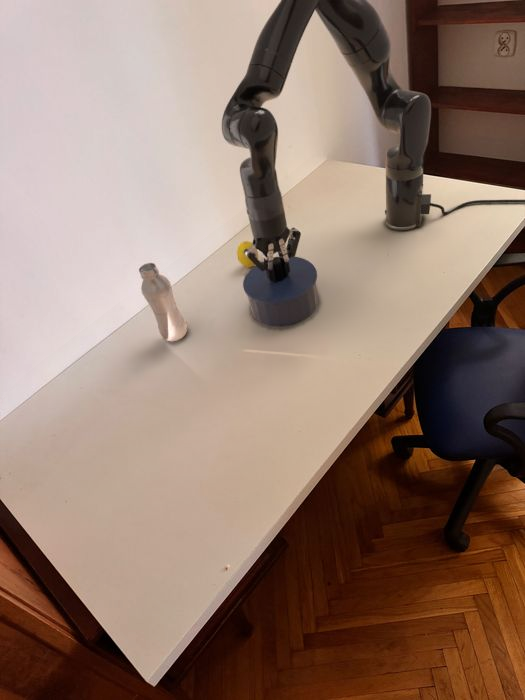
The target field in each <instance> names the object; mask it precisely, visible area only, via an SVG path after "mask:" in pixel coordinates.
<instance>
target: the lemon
mask: <svg viewBox="0 0 525 700" xmlns="http://www.w3.org/2000/svg"><path fill="white" fill-rule="evenodd" d="M252 245H253V242H251V241H247V240H246V241H245V240H243V241H242V242H240V243H239V244H238V246H237V247H236V248H237V249H236V257H237V260H238V262H239V264H240V265H241V266H243V267H246V268H253V267H254V266H256V265H255V264H254V263H253V262H252V261H251V260H250V259H249V258H248V257H247V256H246V255H245V254H244V250H245V249H248V250H249V248H250V247H251V246H252ZM256 253H257V257H256V258H257V259H258V260H259V252H258V249H257V250H256Z"/></svg>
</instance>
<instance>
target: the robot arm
mask: <svg viewBox="0 0 525 700" xmlns="http://www.w3.org/2000/svg"><path fill="white" fill-rule="evenodd" d="M314 12H316V14H317V15H318V18H319V19H320V21H321V22H322V24H323V26H324V27H325V28H326V30H327V32H328V33H329V35H330V36H331V38H332V39H333V42H334V43H335V45H336V47H337V49H338V50H339V52H340V53H341V56H342V57H343V59H344V61H345V62H346V64H347V65H348V66H349V68H350V69H351V71H352V72H353V75H354V76H355V78H356V80H357V81H358V83H359V85H360V86H361V88H362V89H363V91H364V93H365V94H366V97H367V99H368V101H369V103H370V105H371V108H372V110H373V112H374V115H375V117H376V119H377V121H378V123H379V126H381V127H382V128H383V129H384V130H385V131H387V132H390V133H392V134H396V135H399V142H398V143H396V144H393V145H391V146H390V147H389V148H388V149H387V150H386V152H385V210H384V215H385V225H386V226H387V227H388V228H389V229H391V230H394V231H410V230H412V229H415V228H420V227H421V225H422V221H423V220H422V219H423V218H422V217H423V215H430V211H431V207H433V208H438V209H440V210H441V215H445V216H446V215H449V214H452V213H454V212H455V211H457V210H459V209H461V208H463V207H465V206H468V205H474V204H500V203H501V204H505V203H507V204H508V203H513V204H514V203H519V204H520V203H521V204H522V203H525V199H480V200H479V199H478V200H470V201H467V202H463V203H461V204H459V205H457V206H456V207H454V208H453V209H451V210H447V211H445V208H444V206H442V205H441V204H437V203H433V202H431V201H432V194H431V193H429V194H427V193H425V194H424V170H425V169H424V168H425V154H426V151H427V148H428V144H429V139H430V130H431V129H430V128H431V119H432V103H431V100H430V97H429V96H428V94H425V93H423V92H419V91H414V90H409V89H404V88H402V86H400V85H399V83H398V82H397V81H396V79H395V77H394V75H393V73H392V72H391V68H390V61H391V55H392V43H391V39H390V36H389V33H388V31H387V29H386V27H385V24H384V23H383V20H382V18H381V16H380V14H379V12H378V11H377V10H376V8H375V6H373V5H372V3H370V2H369V1H368V0H280V2H279V3H278V4H277V6H276V7H275V8H274V10H273V12H272V13H271V14H270V16H269V18H268V19H267V21H266V22H265V24H264V26H263V27H262V29H261V31H260V33H259V35H258V37H257V39H256V42H255V44H254V47H253V51H252V54H251V57H250V60H249V63H248V65H247V69H246V73H245V75H244V76H243V78H242V79H241V81H240V83H239V84H238V85H237V87H236V89H235V91H234V93H233V94H232V96H231V97H230V99H229V101H228V103H227V104H226V106H225V109H224V110H223V113H222V117H221V135H222V136H223V137H222V138H223V139H224V140H225V142H226V143H228V145H231V146H232V147H236V148H237V147H238V148H240V149H241V148H242V149H247V150H248V151H249V155H250V157H247V158H245V159H243V161H242V162H241V163H240V165H239V175H240V181H241V185H242V190H243V195H244V203H245V208H246V214H247V215H248V221H249V226H250V230H251V233H252V237H253V239H252V243H253V245H252V246H251V247H250V248H249V250H248V249H245V250H244V254H245V255H246V256H247V257H248V258H249V259H250V260H251V261H252V262H253V263H254V264H255V265H254V266H257V267H258V268H259V269H260V270H261V271H264V270H266V274H267V278H268V279H269V280H270V281H272V282H276V281H277V280H276V276H275V271H274V268H273V260H274V257H275V256H274V255H275V254H276V253H277V254H278V257H280V258H281V259H282V264H283V269H284V274H285V277H286V276H288V275H289V274H288V273H289V272H290V267H289V262H288V261H289V259H290V258H291V257H296V255H297V250H298V247H299V243H300V239H301V236H302V232H301V231H300V230H298V229H297V228H296V227H291V228H290V229H289V227H288V223H287V222H288V221H287V217H286V212H285V211H286V210H285V206H284V200H283V194H282V192H281V189H280V185H279V180H278V173H277V169H276V164H277V153H278V141H279V128H278V123H277V120H276V117H275V116H274V114H273V113H272V112H271V111H270V110H269V109H268V108H266V107H262V106H264V104H265V103H266V102H269V101H271V100H274V99H275V100H276V99H277V98H279V97H280V96H281V94H282V92H283V89H284V87H285V86H286V85H285V84H286V81H287V78H288V76H289V73H290V71H291V67H292V64H293V62H294V59H295V55H296V53H297V50H298V48H299V45H300V43H301V41H302V38H303V35H304V33H305V31H306V29H307V27H308V25H309V23H310V20H311V19H312V17H313V14H314ZM256 250H257V251H259V252H261V256H262V261H260V260H259V258H258V259H257V258H256V257H257V253H256Z"/></svg>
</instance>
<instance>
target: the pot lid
mask: <svg viewBox="0 0 525 700" xmlns="http://www.w3.org/2000/svg"><path fill="white" fill-rule="evenodd" d="M288 262H289V267H290V272H289V273H288V274H289V275H288V276H286V277H285V274H284V269H283V264H282V259H281V258H280V257H279V256H274V260H273V268H274V271H275V276H276V280H277V281H276V282H272V281H270V280H269V279H268V278H267V274H266V270H264V271H261V270H260V269H259V268H258V267H257V266H256V265H254V266H252V267H251V269H250V270H249V271H247V273H246V274H245V276H244V279H243V281H242V288H243V292H244V293H245V294H246V297H247V298H248V297H249V298H251V299H252V300H254V301H256V302H259V303H264V304H281V303H286V302H290V301H293V300H296V299H298V298H300V297H302V296H303V295H305V294H306V293H308V292H309V291H310V290H311V289H312V288H313V286H314V285H315V283H316V284H317V279H318V272H317V269H316V267H315V264H313V263H312V262H310V261H309V260H307V259H306V258H302V257H299V256H294V257H291V258H290V259H289V261H288Z"/></svg>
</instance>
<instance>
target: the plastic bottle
mask: <svg viewBox="0 0 525 700" xmlns="http://www.w3.org/2000/svg"><path fill="white" fill-rule="evenodd" d="M138 272H139V275H140V278H141V279H142V282H141V287H140V289H141V290H140V291H141V295H142V296H143V298H144V299H145V300H146V302H147V304H148V305H149V307H150V309H151V311H152V312H153V315H154V317H155V320H156V323H157V329H158V332H159V334H160V336H161V337H162V338H163V340H165V341H167V342H176V341H179V340H181V339H182V338H184V337H185V336H186V334H187V332H188V325H187V321H186V320H185V317H183V315H182V314H181V312H180V310H179V308H178V306H177V302H176V299H175V297H174V293H173V292H174V291H173V288H172V283H171V281H170V280H169V279H168V277H166V276H164V275H163V274H161V273H160V270H159V268H158V267H157V265H156V264H155V263H153V262H147V263H144V264H143V265H141V266H140V267H139V268H138Z"/></svg>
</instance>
